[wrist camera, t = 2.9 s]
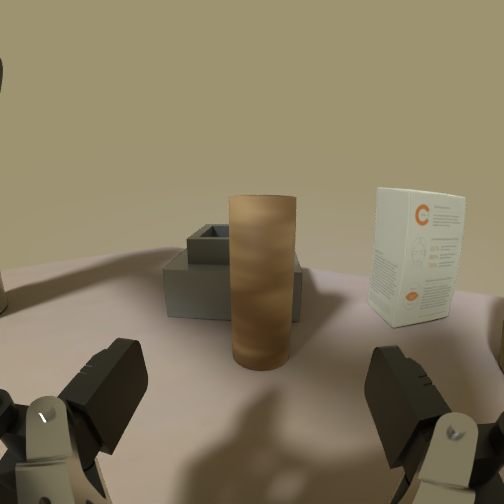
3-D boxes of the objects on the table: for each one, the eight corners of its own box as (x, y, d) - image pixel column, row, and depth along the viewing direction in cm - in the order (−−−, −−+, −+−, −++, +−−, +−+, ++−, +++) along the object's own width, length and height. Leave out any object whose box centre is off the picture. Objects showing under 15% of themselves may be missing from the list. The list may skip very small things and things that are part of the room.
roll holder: (168, 316, 27) (160, 243, 25) (197, 274, 40) (195, 222, 38) (299, 321, 26) (303, 245, 24) (290, 276, 39) (291, 222, 37)
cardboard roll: (229, 369, 19) (223, 199, 16) (236, 338, 24) (233, 195, 20) (290, 371, 19) (299, 199, 16) (287, 339, 23) (293, 195, 20)
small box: (418, 296, 31) (431, 191, 27) (448, 318, 24) (468, 197, 21) (364, 303, 30) (375, 185, 27) (391, 329, 24) (410, 189, 20)
